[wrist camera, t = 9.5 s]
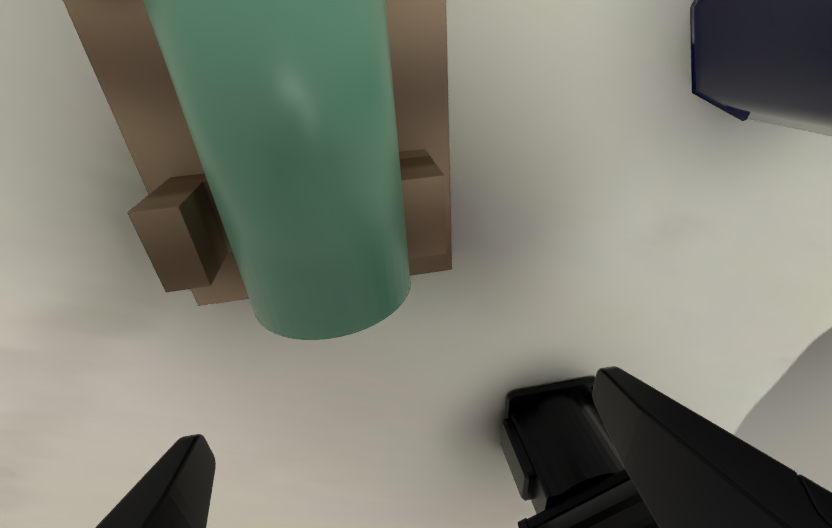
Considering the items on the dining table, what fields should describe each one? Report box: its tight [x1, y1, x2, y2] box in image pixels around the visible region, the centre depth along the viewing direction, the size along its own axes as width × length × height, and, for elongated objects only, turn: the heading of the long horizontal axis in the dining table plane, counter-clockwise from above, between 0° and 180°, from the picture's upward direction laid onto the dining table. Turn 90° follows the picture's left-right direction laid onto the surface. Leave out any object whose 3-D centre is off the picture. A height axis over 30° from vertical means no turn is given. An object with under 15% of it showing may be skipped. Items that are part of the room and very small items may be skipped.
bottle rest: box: [63, 0, 452, 306], centre depth 13 cm, size 18×12×4 cm, turn 4°
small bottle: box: [143, 0, 411, 340], centre depth 10 cm, size 16×6×6 cm, turn 4°
